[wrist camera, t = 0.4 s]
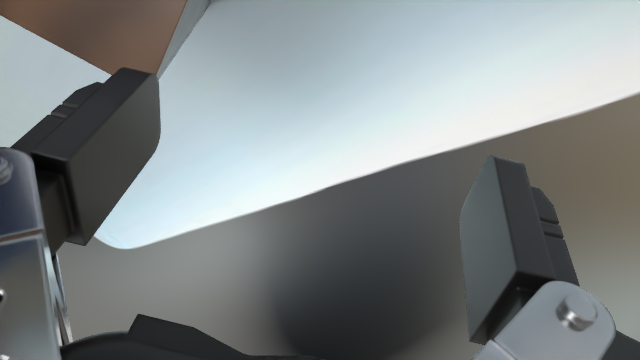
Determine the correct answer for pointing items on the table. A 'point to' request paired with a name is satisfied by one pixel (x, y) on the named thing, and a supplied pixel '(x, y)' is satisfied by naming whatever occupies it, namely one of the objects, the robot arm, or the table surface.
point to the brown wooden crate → (111, 29)
